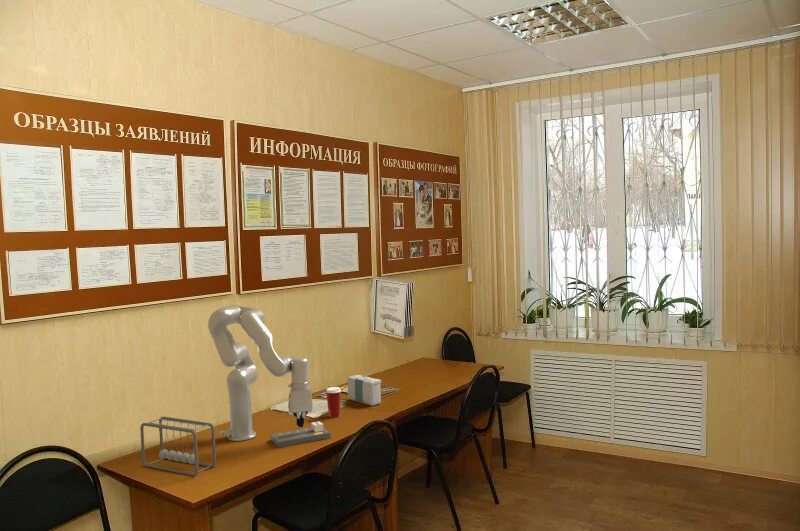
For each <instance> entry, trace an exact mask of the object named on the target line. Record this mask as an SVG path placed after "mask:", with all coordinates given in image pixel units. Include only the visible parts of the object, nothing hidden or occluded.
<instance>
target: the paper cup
mask: <svg viewBox="0 0 800 531" xmlns="http://www.w3.org/2000/svg"><path fill="white" fill-rule="evenodd" d="M341 392H342V390H341V388H340V387H338V386H331V387H328V388H327V387H326V390H325V393H326V403H327V411H328V412H327V413H328V417H329V418H331V417H336V418H339V417H341ZM338 416H339V417H338Z"/></svg>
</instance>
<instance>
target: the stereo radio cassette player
mask: <svg viewBox="0 0 800 531" xmlns="http://www.w3.org/2000/svg"><path fill="white" fill-rule="evenodd" d="M378 368H379V367H378V366H377V367H376V368H374V369H372V370H370V371H369V372H367V373H366V374H364V375H362V374H355V375H351V376H348V377H347V396H348V399H350V400H351V401H353V402H354V401H355V402H358V403H361V404H365V405H368V406H371V407H373V406H375V405H380V404H381V403H382V395H381V383H382V380H381V379H378V378H373V377H369V376H367V375H368V374H370V373H372V372H373V371H375V370H376V369H378Z"/></svg>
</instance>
